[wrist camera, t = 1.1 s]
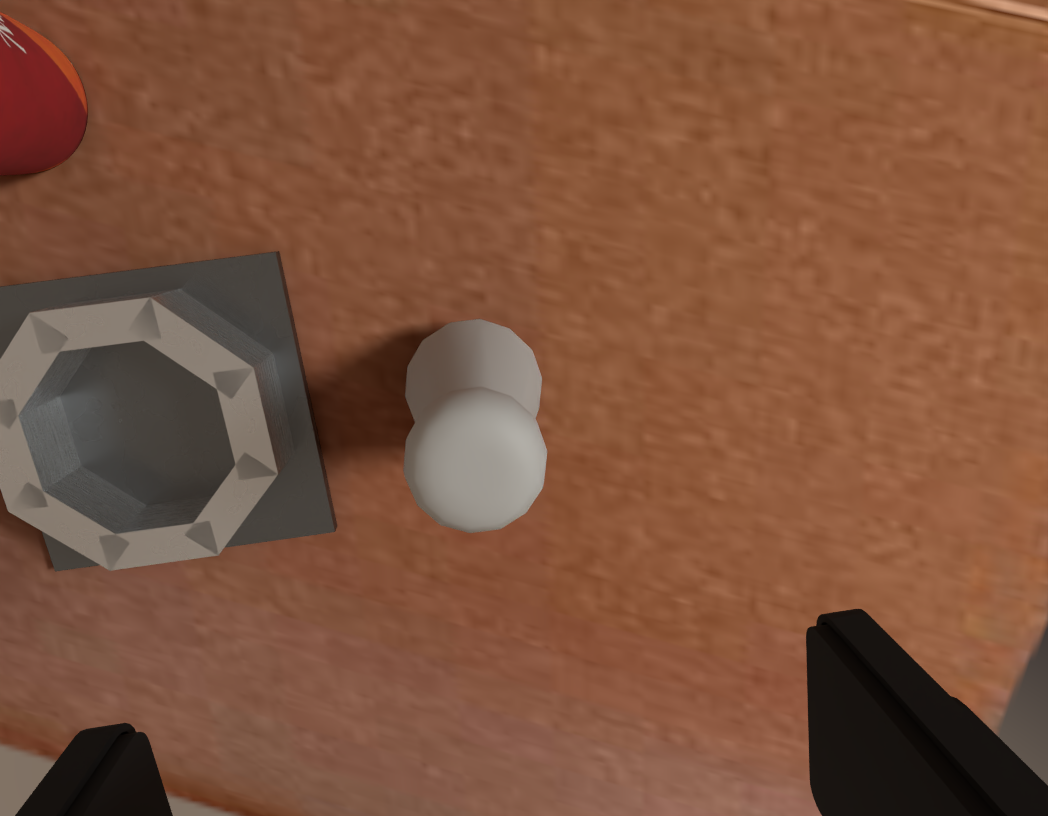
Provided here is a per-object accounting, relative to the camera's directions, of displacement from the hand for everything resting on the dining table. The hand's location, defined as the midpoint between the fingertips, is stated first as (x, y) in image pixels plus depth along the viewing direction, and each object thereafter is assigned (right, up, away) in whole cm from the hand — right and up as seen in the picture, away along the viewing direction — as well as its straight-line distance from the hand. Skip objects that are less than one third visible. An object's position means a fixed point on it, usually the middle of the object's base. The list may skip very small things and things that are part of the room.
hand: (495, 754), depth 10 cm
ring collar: (-16, +4, +22) cm, 28 cm away
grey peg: (-2, +6, +23) cm, 24 cm away
